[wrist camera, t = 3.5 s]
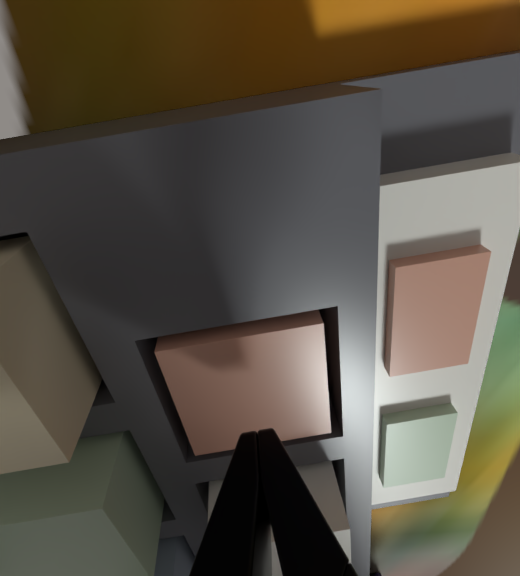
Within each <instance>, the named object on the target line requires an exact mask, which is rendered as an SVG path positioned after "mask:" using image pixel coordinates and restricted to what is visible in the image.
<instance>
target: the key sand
mask: <svg viewBox="0 0 520 576" xmlns="http://www.w3.org/2000/svg"><path fill="white" fill-rule="evenodd" d="M102 379H103V378H102V376H101V374H100V372H99V370H98V368H97V366H96V364H95V362H94V361H93V359H92V357H91V355H90V353H89V351H88V349H87V347H86V345H85V343H84V341H83V339H82V337H81V335H80V333H79V332H78V330H77V328H76V326H75V324H74V322H73V320H72V318H71V316H70V314H69V312H68V310H67V308H66V306H65V305H64V303H63V301H62V299H61V297H60V295H59V293H58V291H57V289H56V287H55V285H54V283H53V281H52V279H51V278H50V276H49V274H48V272H47V270H46V268H45V266H44V264H43V262H42V260H41V258H40V256H39V254H38V252H37V251H36V249H35V247H34V245H33V243H32V241H31V239H30V237H29V236H24V237H18V238H13V239H7V240H1V241H0V474H4V473H10V472H16V471H22V470H28V469H34V468H40V467H45V466H51V465H57V464H63V463H69V462H70V460H71V457H72V455H73V452H74V450H75V447H76V445H77V442H78V440H79V437H80V434H81V432H82V429H83V427H84V424H85V422H86V419H87V417H88V414H89V412H90V409H91V407H92V404H93V401H94V399H95V396H96V394H97V391H98V389H99V386H100V384H101V381H102Z"/></svg>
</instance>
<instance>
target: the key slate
mask: <svg viewBox="0 0 520 576" xmlns="http://www.w3.org/2000/svg"><path fill="white" fill-rule="evenodd" d="M194 560H195V555H194V553H193V552H192V550H191V548H190V546H189V544H188V542H187V540H186V538H185V536H184V535H183V536H177V537H171V538H165V539H160V540H159V543H158V550H157V557H156V565H155V572H154V576H189V574H190V571H191V568H192V566H193V563H194Z"/></svg>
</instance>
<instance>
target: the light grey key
mask: <svg viewBox="0 0 520 576" xmlns="http://www.w3.org/2000/svg"><path fill="white" fill-rule="evenodd" d="M296 468H297V470H298V472H299V473H300V475H301V477H302V479H303V480H304V482H305V484H306V486H307V487H308V489H309V491H310V493H311V494H312V496H313V498H314V500H315V501H316V503H317V505H318V507H319V508H320V510H321V512H322V514H323V515H324V517H325V519H326V521H327V522H328V524H329V526H330V527H331V529H332V531H333V533H334V534H335V536H336V538H337V540H338V541H339V543H340V545H341V547H342V548H343V550H344V552H345V554H346V555H347V557H348V559H349V563H351V537H350V526H349V523H348V519H347V516H346V512H345V508H344V505H343V501H342V497H341V494H340V490H339V487H338V483H337V479H336V476H335V472H334V469H333V465H332V461H326V462H320V463H314V464H309V465H303V466H297V467H296ZM223 480H224V479H220V480H215V481H209V499H208V521H209V519H210V516H211V513H212V510H213V508H214V505H215V502H216V499H217V497H218V494H219V491H220V488H221V486H222V483H223ZM271 545H272V576H283V575H282V571H281V566H280V562H279V558H278V554H277V549H276V545H275V541H274V536H273V532H272V528H271Z"/></svg>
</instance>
